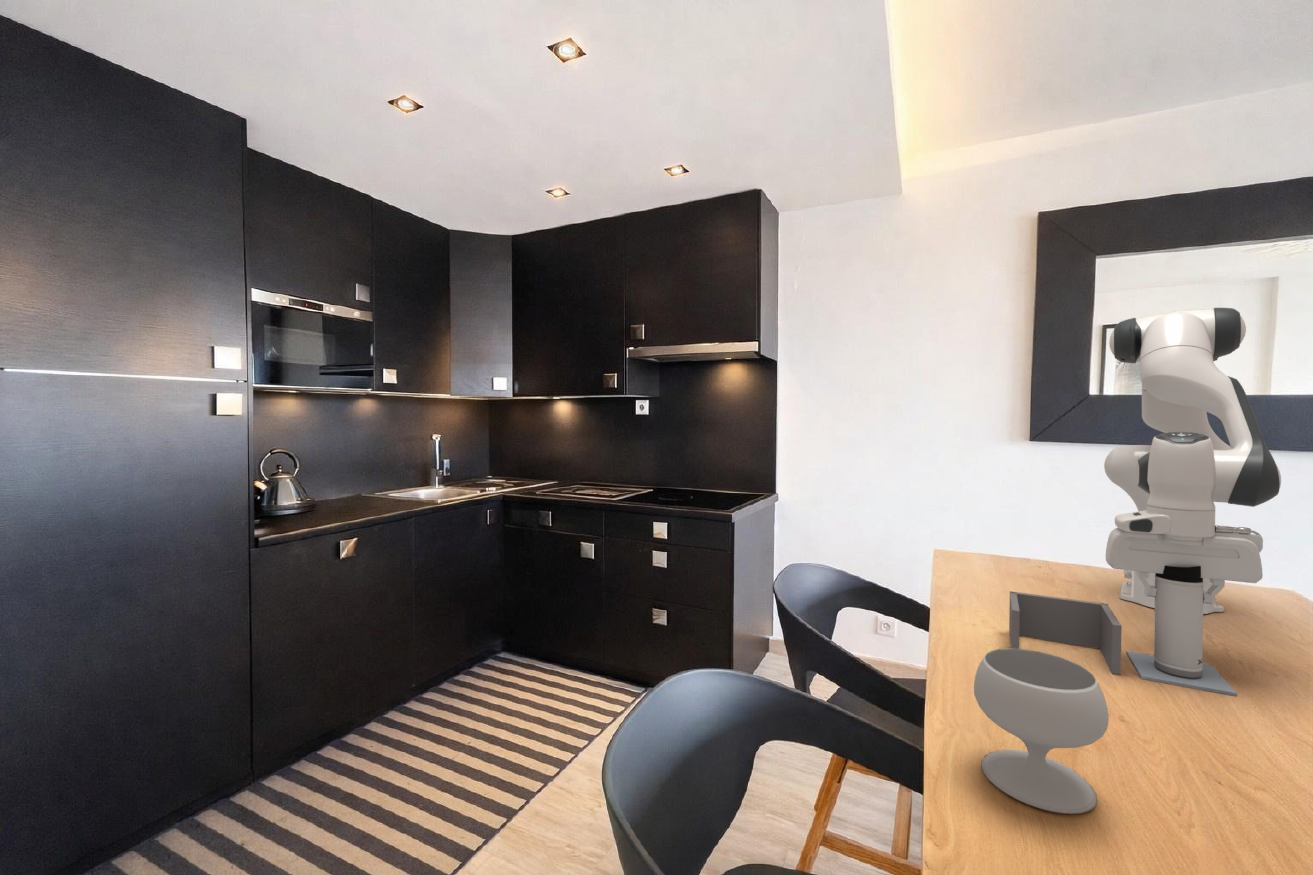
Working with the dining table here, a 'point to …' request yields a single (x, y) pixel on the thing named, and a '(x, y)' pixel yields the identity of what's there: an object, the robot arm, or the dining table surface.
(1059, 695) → the chalice
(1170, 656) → the travel mug
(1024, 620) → the grey u-shaped channel
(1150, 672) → the mat
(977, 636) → the dining table surface
